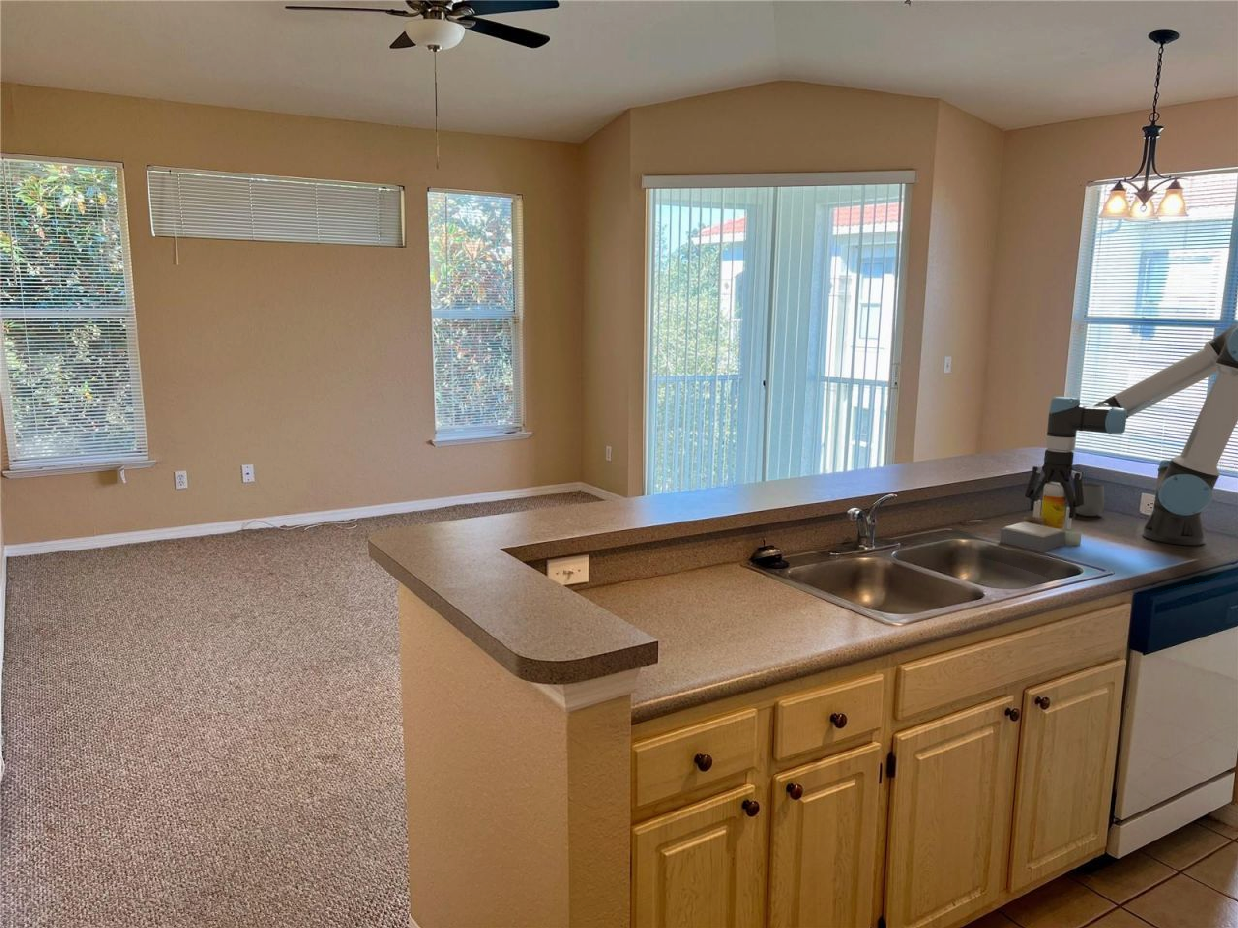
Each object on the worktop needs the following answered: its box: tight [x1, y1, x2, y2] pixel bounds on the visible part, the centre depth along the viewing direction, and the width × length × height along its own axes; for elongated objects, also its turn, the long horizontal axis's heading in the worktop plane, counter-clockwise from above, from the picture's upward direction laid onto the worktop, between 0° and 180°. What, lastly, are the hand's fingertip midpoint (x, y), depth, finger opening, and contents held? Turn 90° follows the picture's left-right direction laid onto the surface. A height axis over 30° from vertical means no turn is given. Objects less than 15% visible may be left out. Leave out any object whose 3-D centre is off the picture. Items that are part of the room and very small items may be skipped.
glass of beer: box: [1039, 481, 1067, 529], centre depth 248 cm, size 6×6×15 cm
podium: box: [999, 521, 1065, 553], centre depth 237 cm, size 12×12×5 cm
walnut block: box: [1022, 515, 1046, 526], centre depth 247 cm, size 5×5×5 cm
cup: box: [1073, 481, 1105, 517], centre depth 274 cm, size 10×9×10 cm
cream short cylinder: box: [1062, 528, 1083, 547], centre depth 238 cm, size 6×6×4 cm
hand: (1051, 525), depth 249 cm, fingers open, 9 cm apart
